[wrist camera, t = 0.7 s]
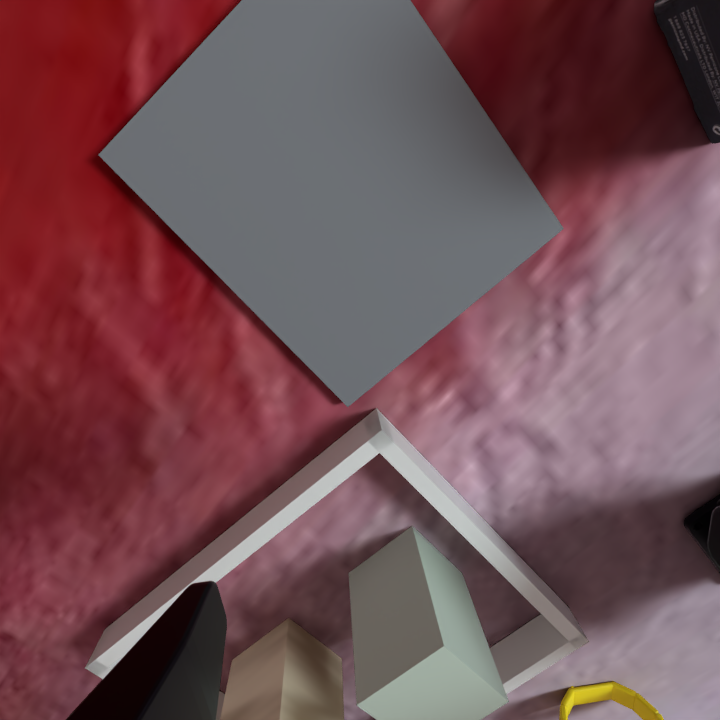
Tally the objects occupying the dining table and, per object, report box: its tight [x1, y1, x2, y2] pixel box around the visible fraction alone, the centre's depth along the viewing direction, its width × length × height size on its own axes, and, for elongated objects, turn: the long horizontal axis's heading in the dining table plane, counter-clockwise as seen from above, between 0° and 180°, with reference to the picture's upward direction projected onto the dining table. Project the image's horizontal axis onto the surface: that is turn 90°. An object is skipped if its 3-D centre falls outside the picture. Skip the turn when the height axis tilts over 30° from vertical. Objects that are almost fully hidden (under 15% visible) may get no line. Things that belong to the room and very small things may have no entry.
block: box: [349, 526, 509, 720], centre depth 22 cm, size 4×4×7 cm
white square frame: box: [85, 408, 589, 720], centre depth 25 cm, size 18×20×2 cm
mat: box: [99, 0, 564, 407], centre depth 18 cm, size 14×12×1 cm
